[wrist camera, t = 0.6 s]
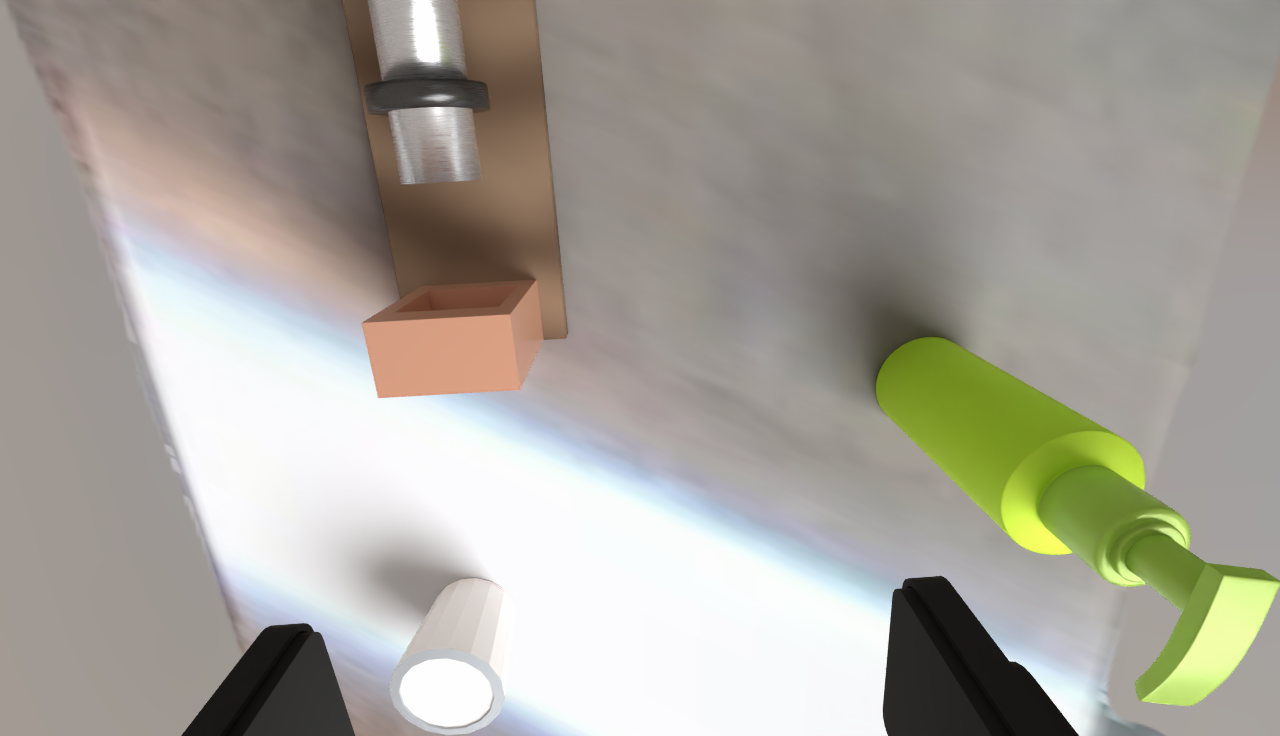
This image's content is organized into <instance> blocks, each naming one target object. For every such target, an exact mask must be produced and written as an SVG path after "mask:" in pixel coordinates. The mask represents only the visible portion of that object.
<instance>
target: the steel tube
mask: <svg viewBox="0 0 1280 736" xmlns="http://www.w3.org/2000/svg"><path fill="white" fill-rule="evenodd" d="M367 1H368V6H369V12H370V17H371V23H372V28H373V34H374V39H375V45H376V50H377V56H378V61H379V67H380V72H381V78H382V81H381V82H375V83H370V84H367V85H365V86H363V90H364V95H365V100H366V105H367V110H368V113H369V114H372V115H380V116H389V121H390V127H391V132H392V138H393V143H394V149H395V154H396V160H397V165H398V171H399V176H400V182H401V184H424V183H441V182H456V181H469V180H480V179H482V175H481V168H480V161H479V154H478V146H477V139H476V132H475V125H474V117H473V113H479V112H484V111H488V110H490V102H489V94H488V86H487V84H486V83H484V82H481V81H475V80H468V74H467V67H466V59H465V52H464V45H463V38H462V30H461V23H460V16H459V9H458V1H457V0H367Z"/></svg>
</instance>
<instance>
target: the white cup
mask: <svg viewBox="0 0 1280 736" xmlns="http://www.w3.org/2000/svg"><path fill="white" fill-rule="evenodd" d="M514 620H515V609H514V604H513V600H512V599H511V598H510V596H509V595H508V594H507V592H506V591H505V590H504V589H503V588H501V587H500V586H498V585H496V584H495V583H493V582H491V581H487V580H483V579H479V578H468V579H460V580H457V581H455V582H453V583H451V584H449V585H447V586H446V587H445V588H444V589H443V590H442V592H441V593H440V594H439V595H438V597H437V598H436V600H435V602H434V603H433V605H432V607H431V608H430V610H429V612H428V614H427V615H426V617H425V619H424V620H423V622H422V624H421V626H420V627H419V629H418V631H417V632H416V634H415V636H414V637H413V639H412V641H411V643H410V644H409V646H408V648H407V649H406V651H405V653H404V654H403V656H402V658H401V660H400V661H399V663H398V665H397V666H396V668H395V670H394V672H393V674H392V679H391V683H390V687H389V691H390V694H391V697H392V701H393V704H394V706H395V707H396V709H397V710H398V711H399V712H400V713H401V714H402V715H403V716H404V718H405V719H406V720H407V721H409V722H411V723H413V724H415V725H416V726H418V727H420V728H422V729H424V730H425V731H430V732H435V733H440V734H445V735H454V734H467V733H471V732H473V731H475V730H478V729H480V728H483V727H485V726H487V725H488V724H489V723H490V722H491V721H492V720H493V719H494V718H495V717H496V716H497V715H498V714H499V713H500V711H501V708H502V705H503V702H504V699H505V693H506V685H507V677H508V669H509V661H510V653H511V645H512V636H513V628H514Z"/></svg>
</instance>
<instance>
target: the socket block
mask: <svg viewBox="0 0 1280 736" xmlns="http://www.w3.org/2000/svg"><path fill="white" fill-rule="evenodd" d="M362 327H363V331H364V336H365V340H366V345H367V349H368V354H369V358H370V363H371V367H372V372H373V376H374V381H375V385H376V390H377V395H378V398H387V397H405V396H422V395H439V394H457V393H474V392H491V391H509V390H520V389H521V387H522V385H523V382H524V380H525V378H526V376H527V374H528V372H529V370H530V368H531V365H532V363H533V361H534V359H535V357H536V355H537V353H538V350H539V348H540V346H541V344H542V342H543V340H544V339H543V331H542V322H541V313H540V304H539V296H538V287H537V279H536V280H519V281H502V282H484V283H467V284H450V285H433V286H421V287H419V288H418V289H416V290H415V291H413V292H411V293H410V294H408V295H406V296H405V297H403V298H402V299H400V300H398V301H397V302H395V303H393V304H392V305H390V306H389V307H387V308H385V309H384V310H382V311H380V312H379V313H377V314H376V315H374V316H372V317H371V318H369V319H367V320H366V321H364V322H362Z"/></svg>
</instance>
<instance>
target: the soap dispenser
mask: <svg viewBox="0 0 1280 736" xmlns="http://www.w3.org/2000/svg"><path fill="white" fill-rule="evenodd" d="M876 396H877V400H878V403H879V405H880V407H881V408H882V410H883V411H884V412H885V414H886V415H887V416H888V417H889V418H890V419H891V420H892V421H893V422H895V423H896V424H897V425H898V426H899V427H900V428H901V429H902V430H903V431H904V432H905V433H906V434H907V435H908V436H909V437H910V438H911V439H912V440H913V441H914V442H915V443H916V444H917V445H918V446H919V447H920V448H921V449H922V450H923V451H924V452H925V453H926V454H927V455H928V456H929V457H930V458H931V459H932V460H933V461H934V462H935V463H936V464H937V465H938V466H939V467H940V468H941V469H942V470H943V471H944V472H945V473H946V474H947V475H948V476H949V477H950V478H951V479H952V480H953V481H954V482H955V483H956V484H957V485H958V486H959V487H960V488H961V489H962V490H963V491H964V492H965V493H966V494H967V495H968V496H969V497H970V498H971V499H972V500H973V501H974V502H975V503H976V504H977V505H978V506H979V507H980V508H981V509H982V510H983V511H984V512H985V513H986V514H987V515H988V516H990V517H991V518H992V519H993V520H994V521H995V522H996V523H997V524H998V525H999V526H1000V527H1001V528H1002V529H1003V530H1004V531H1005V532H1006V533H1007V534H1008V535H1009V536H1010V537H1011V538H1012V539H1013V540H1014V541H1015V542H1016V543H1018V544H1019V545H1020V546H1022V547H1024V548H1026V549H1028V550H1030V551H1033V552H1037V553H1041V554H1049V555H1060V554H1069V553H1074V554H1076V555H1077V556H1078V557H1079V558H1080V559H1081V560H1082V561H1083V562H1085V563H1086V564H1087V565H1088V566H1089V567H1090V568H1091V569H1093V570H1094V571H1095V572H1096V573H1097V574H1098V575H1099V576H1101V577H1102V578H1103V579H1105V580H1106V581H1108V582H1110V583H1112V584H1115V585H1119V586H1127V587H1133V586H1141V585H1145V584H1148V585H1149V586H1150V587H1152V588H1153V589H1154V590H1155V591H1156V592H1158V593H1159V594H1160V595H1161V596H1163V597H1164V598H1165V599H1166V600H1168V601H1169V602H1170V603H1171V604H1172V605H1174V606H1175V607H1176V608H1177V609H1179V610H1180V611H1181V612H1182V614H1181V616H1180V618H1179V620H1178V622H1177V625H1176V627H1175V629H1174V631H1173V633H1172V635H1171V637H1170V639H1169V641H1168V643H1167V644H1166V646H1165V647H1164V649H1163V651H1162V652H1161V654H1160V656H1159V657H1158V658H1157V659H1156V661H1155V662H1154V663H1153V664H1152V666H1151V667H1150V668H1149V669H1148V670H1147V671H1146V672H1145V673H1144V674H1143V675H1142V676H1141V677H1140V678H1139V679H1138V680H1137V681H1136V682H1135V686H1136V693H1137V696H1138V699H1139V701H1143V702H1152V703H1161V704H1171V705H1183V706H1192V705H1194V704H1196V703H1197V702H1199V701H1200V700H1202V699H1203V698H1205V697H1206V696H1208V695H1209V694H1210V693H1211V692H1213V691H1214V690H1215V689H1216V688H1217V687H1218V686H1219V685H1221V684H1222V683H1223V682H1224V681H1225V680H1226V679H1227V678H1228V677H1229V675H1230V674H1231V673H1232V672H1233V671H1234V670H1235V668H1236V667H1237V666H1238V664H1239V663H1240V662H1241V660H1242V659H1243V657H1244V656H1245V654H1246V653H1247V651H1248V649H1249V648H1250V646H1251V644H1252V643H1253V641H1254V639H1255V637H1256V635H1257V633H1258V631H1259V629H1260V627H1261V625H1262V623H1263V621H1264V619H1265V617H1266V615H1267V613H1268V611H1269V609H1270V606H1271V604H1272V602H1273V600H1274V598H1275V595H1276V593H1277V591H1278V589H1279V587H1280V581H1279V580H1278V579H1276V578H1274V577H1273V576H1271V575H1270V574H1269V573H1267V572H1265V571H1264V570H1261V569H1254V568H1245V567H1236V566H1228V565H1220V564H1211V563H1206V562H1204V561H1203V560H1201V559H1200V558H1199V557H1197V556H1196V555H1194V554H1193V553H1191V552H1190V551H1189V550H1188V548H1189V545H1190V540H1191V533H1190V528H1189V526H1188V523H1187V522H1186V520H1185V519H1184V518H1183V517H1182V516H1181V515H1180V514H1179V513H1178V512H1176V511H1175V510H1173V509H1172V508H1170V507H1168V506H1167V505H1166V504H1164V503H1162V502H1161V501H1159V500H1158V499H1156V498H1155V497H1153V496H1152V495H1150V494H1148V493H1147V492H1145V491H1144V486H1145V469H1144V464H1143V461H1142V459H1141V457H1140V455H1139V453H1138V452H1137V450H1136V449H1135V448H1134V447H1133V446H1132V445H1131V444H1130V443H1129V442H1128V441H1126V440H1125V439H1123V438H1122V437H1120V436H1118V435H1116V434H1115V433H1113V432H1111V431H1109V430H1108V429H1106V428H1104V427H1102V426H1100V425H1099V424H1097V423H1095V422H1093V421H1092V420H1090V419H1088V418H1086V417H1084V416H1083V415H1081V414H1079V413H1077V412H1076V411H1074V410H1072V409H1070V408H1069V407H1067V406H1065V405H1063V404H1061V403H1060V402H1058V401H1056V400H1054V399H1053V398H1051V397H1049V396H1047V395H1045V394H1044V393H1042V392H1040V391H1038V390H1037V389H1035V388H1033V387H1031V386H1030V385H1028V384H1026V383H1024V382H1022V381H1021V380H1019V379H1017V378H1015V377H1014V376H1012V375H1010V374H1008V373H1006V372H1005V371H1003V370H1001V369H999V368H998V367H996V366H994V365H992V364H991V363H989V362H987V361H985V360H983V359H982V358H980V357H978V356H976V355H975V354H973V353H971V352H969V351H968V350H966V349H964V348H962V347H960V346H959V345H957V344H955V343H953V342H951V341H949V340H947V339H944V338H939V337H924V338H919V339H915V340H912V341H910V342H907V343H905V344H904V345H902V346H900V347H899V348H898V349H896V350H895V351H894V352H893V353H892V354H891V355H890V356H889V357H888V358H887V359H886V361H885V362H884V363H883V365H882V367H881V369H880V371H879V374H878V377H877V381H876Z"/></svg>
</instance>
